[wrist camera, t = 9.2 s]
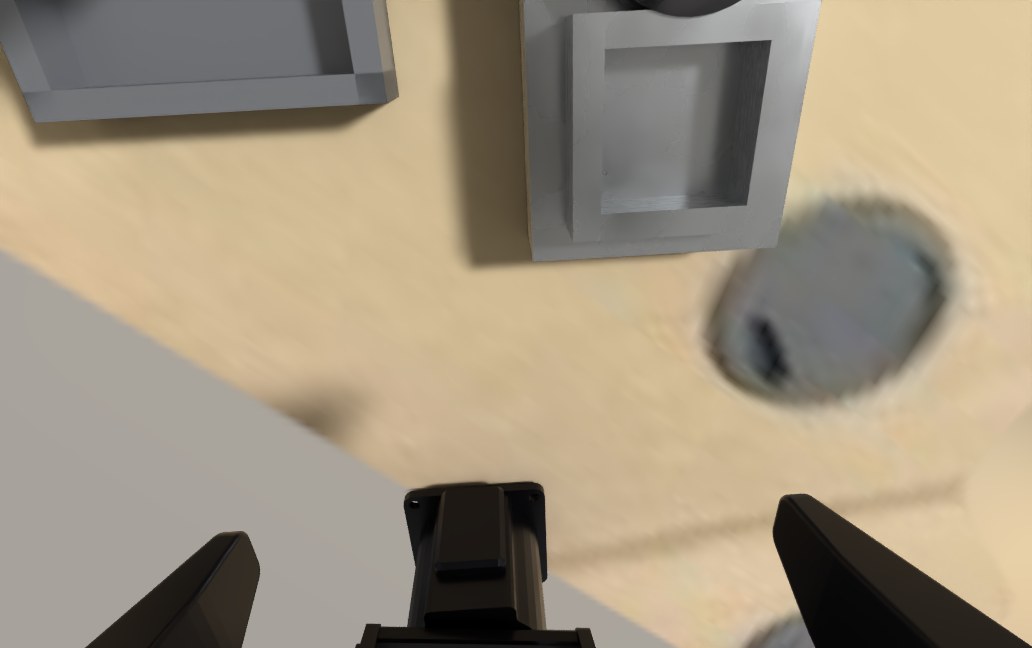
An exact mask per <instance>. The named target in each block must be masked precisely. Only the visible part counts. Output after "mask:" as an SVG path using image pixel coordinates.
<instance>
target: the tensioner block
mask: <svg viewBox="0 0 1032 648" xmlns="http://www.w3.org/2000/svg"><path fill="white" fill-rule="evenodd" d="M820 6H821V0H519V14H520V39H521V64H522V89H523V115H524V140H525V165H526V190H527V216H528V238H529V243H530V249H531V254H532V259H533V262H541V261H558V260H574V259H591V258H607V257H624V256H640V255H657V254H673V253H690V252H706V251H723V250H739V249H756V248H772V247H777V242H778V237H779V231H780V226H781V220H782V215H783V209H784V204H785V198H786V193H787V187H788V182H789V176H790V171H791V165H792V160H793V154H794V149H795V143H796V138H797V132H798V127H799V121H800V116H801V110H802V105H803V99H804V94H805V88H806V83H807V77H808V72H809V66H810V61H811V55H812V50H813V44H814V39H815V33H816V28H817V22H818V17H819V11H820Z"/></svg>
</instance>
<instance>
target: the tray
mask: <svg viewBox="0 0 1032 648" xmlns="http://www.w3.org/2000/svg"><path fill="white" fill-rule="evenodd" d="M0 43H1V45H2V47H3V49H4V52H5V54H6V56H7V59H8V61H9V63H10V66H11V68H12V70H13V73H14V75H15V77H16V80H17V82H18V84H19V86H20V89H21V91H22V93H23V96H24V98H25V100H26V103H27V105H28V107H29V110H30V112H31V114H32V116H33V119H34V121H35V123H40V122H58V121H76V120H94V119H111V118H129V117H147V116H165V115H183V114H200V113H218V112H236V111H254V110H271V109H289V108H307V107H325V106H343V105H360V104H378V103H388V102H390V101H392V100H394V99H396V98H397V97H399V93H398V86H397V78H396V71H395V64H394V56H393V49H392V42H391V35H390V27H389V20H388V13H387V5H386V0H0Z"/></svg>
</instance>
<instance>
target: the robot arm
mask: <svg viewBox="0 0 1032 648" xmlns="http://www.w3.org/2000/svg"><path fill="white" fill-rule="evenodd" d="M532 493H537V494H535V495H530V494H532ZM412 501H417V502H418V503H414V502H412ZM404 510H405V515H406V520H407V525H408V530H409V535H410V541H411V546H412V551H413V556H414V561H415V566H416V570H415V576H414V583H413V591H412V597H411V604H410V611H409V618H408V625H407V627H381V624H366V627H365V630H364V633H363V637H362V640H361V643H360V644H357V645H356V647H355V648H596V647H595V644H594V640H593V637H592V634H591V631H590V628H576V629H575V630H546V620H545V609H544V600H543V588H542V583H543V582H544V581H545V580H546V579H547V551H546V521H545V495H544V489H543V487H542V486H541V485H540V484H538V483H523V484H508V485H493V486H478V487H463V488H448V489H433V490H418V491H411V492H409V493H407V494H406V496H405V500H404ZM773 539H774V543H775V546H776V549H777V551H778V554H779V557H780V559H781V562H782V565H783V567H784V570H785V573H786V575H787V578H788V581H789V583H790V586H791V589H792V591H793V594H794V597H795V599H796V602H797V605H798V607H799V610H800V613H801V615H802V618H803V620H804V623H805V625H806V628H807V630H808V633H809V635H810V637H811V639H812V642H813V644H814V646H815V648H1032V646H1030V645H1029V644H1028V643H1026V642H1025V641H1023V640H1022V639H1020V638H1018V637H1017V636H1016V635H1014V634H1013V633H1011V632H1010V631H1008V630H1007V629H1006V628H1004V627H1003V626H1001V625H1000V624H998V623H997V622H995V621H994V620H992V619H991V618H989V617H988V616H986V615H985V614H984V613H982V612H981V611H979V610H978V609H976V608H975V607H973V606H972V605H970V604H969V603H967V602H966V601H964V600H963V599H962V598H960V597H959V596H957V595H956V594H954V593H953V592H951V591H950V590H948V589H947V588H945V587H944V586H942V585H941V584H940V583H938V582H937V581H935V580H934V579H932V578H931V577H929V576H928V575H926V574H925V573H923V572H922V571H920V570H919V569H918V568H916V567H915V566H913V565H912V564H910V563H909V562H907V561H906V560H904V559H903V558H901V557H900V556H898V555H897V554H896V553H894V552H893V551H891V550H890V549H888V548H887V547H885V546H884V545H882V544H881V543H879V542H878V541H876V540H875V539H874V538H872V537H871V536H869V535H868V534H866V533H865V532H863V531H862V530H860V529H859V528H857V527H856V526H854V525H853V524H852V523H850V522H849V521H847V520H846V519H844V518H843V517H841V516H840V515H838V514H837V513H835V512H834V511H832V510H831V509H830V508H828V507H827V506H825V505H824V504H822V503H821V502H819V501H818V500H816V499H815V498H813V497H812V496H810V495H808V494H791V495H784V496H782V498H781V499H780V501H779V505H778V509H777V513H776V517H775V521H774V526H773ZM259 576H260V566H259V562H258V559H257V557H256V554H255V552H254V549H253V546H252V544H251V541H250V539H249V537H248V535H247V534H246V533H245V532H243V531H236V532H223V533H219V534H218V535H216V536H215V537H213V538H212V539H211V540H210V541H209V542H207V543H206V544H205V545H204V546H203V547H202V548H200V549H199V550H198V551H197V552H196V553H195V554H193V555H192V556H191V557H190V558H189V559H188V560H186V561H185V562H184V563H183V564H182V565H181V566H179V568H177V569H176V570H175V571H174V572H173V573H171V574H170V575H169V576H168V577H167V578H166V579H164V580H163V581H162V582H161V583H160V584H159V585H157V586H156V587H155V588H154V589H153V590H152V591H150V592H149V593H148V594H147V595H146V596H145V597H144V598H142V599H141V600H140V601H139V602H138V603H137V604H135V605H134V606H133V607H132V608H131V609H130V610H128V611H127V612H126V613H125V614H124V615H123V616H121V617H120V618H119V619H118V620H117V621H116V622H114V623H113V624H112V625H111V626H110V627H109V628H107V629H106V630H105V631H104V632H103V633H102V634H101V635H99V636H98V637H97V638H96V639H95V640H94V641H92V642H91V643H90V644H89V645H88V646H87V647H85V648H242V644H243V640H244V636H245V632H246V628H247V624H248V620H249V616H250V613H251V609H252V605H253V601H254V597H255V593H256V589H257V585H258V581H259Z"/></svg>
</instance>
